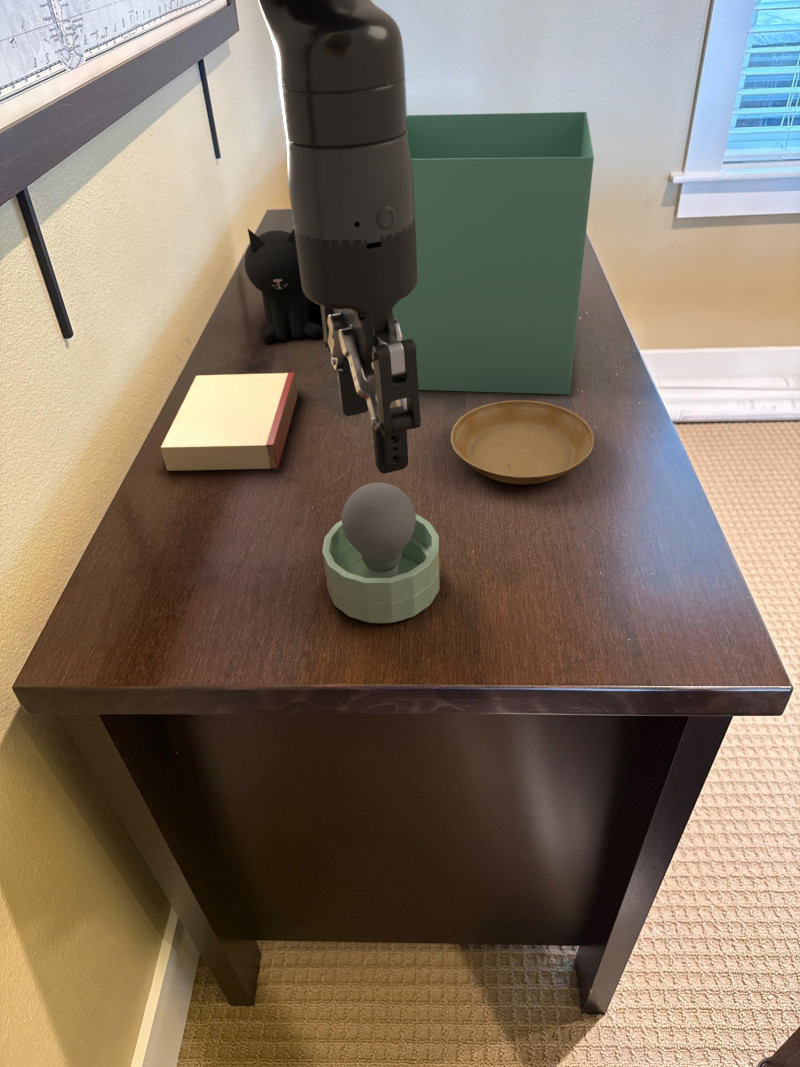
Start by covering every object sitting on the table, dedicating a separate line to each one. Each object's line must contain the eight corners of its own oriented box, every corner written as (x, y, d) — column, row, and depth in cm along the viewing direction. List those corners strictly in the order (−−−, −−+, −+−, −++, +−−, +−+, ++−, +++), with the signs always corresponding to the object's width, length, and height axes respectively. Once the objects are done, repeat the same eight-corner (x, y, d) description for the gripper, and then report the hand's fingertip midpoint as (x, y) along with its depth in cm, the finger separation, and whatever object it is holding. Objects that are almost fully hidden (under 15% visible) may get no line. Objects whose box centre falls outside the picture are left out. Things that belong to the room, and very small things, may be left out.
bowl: (347, 640, 62) (342, 595, 59) (316, 567, 70) (309, 524, 66) (457, 608, 65) (457, 563, 62) (416, 540, 72) (414, 497, 69)
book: (277, 469, 82) (273, 444, 80) (167, 471, 83) (160, 447, 81) (297, 395, 95) (294, 372, 93) (201, 397, 95) (196, 374, 93)
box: (566, 321, 107) (586, 111, 91) (569, 394, 92) (593, 157, 75) (401, 318, 111) (391, 115, 94) (376, 388, 95) (359, 159, 78)
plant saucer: (584, 506, 75) (587, 484, 73) (436, 487, 78) (435, 466, 77) (597, 427, 86) (599, 407, 84) (466, 414, 89) (466, 394, 88)
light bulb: (337, 597, 66) (325, 503, 59) (366, 554, 70) (357, 462, 64) (403, 614, 64) (397, 519, 57) (428, 568, 68) (425, 475, 62)
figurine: (252, 358, 103) (231, 244, 94) (258, 315, 114) (240, 209, 104) (372, 348, 103) (363, 234, 94) (367, 307, 114) (358, 201, 105)
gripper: (268, 194, 52) (300, 406, 62) (326, 262, 41) (354, 504, 52) (374, 177, 54) (388, 386, 64) (456, 239, 43) (457, 477, 53)
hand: (373, 439), depth 58 cm, fingers open, 8 cm apart
